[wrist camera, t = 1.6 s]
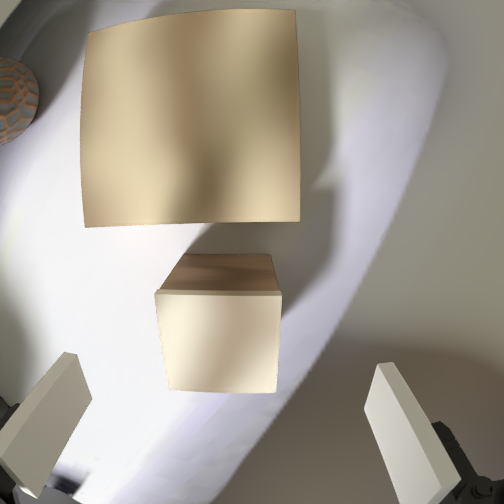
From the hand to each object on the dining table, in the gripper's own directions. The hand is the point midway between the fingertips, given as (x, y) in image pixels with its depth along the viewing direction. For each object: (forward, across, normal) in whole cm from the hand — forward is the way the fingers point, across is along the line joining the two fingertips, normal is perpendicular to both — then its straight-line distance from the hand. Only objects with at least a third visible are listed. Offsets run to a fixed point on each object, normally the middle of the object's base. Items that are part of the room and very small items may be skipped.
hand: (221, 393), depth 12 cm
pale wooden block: (+10, 0, 0) cm, 11 cm away
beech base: (+11, -2, +12) cm, 16 cm away
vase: (+10, -18, +15) cm, 26 cm away
